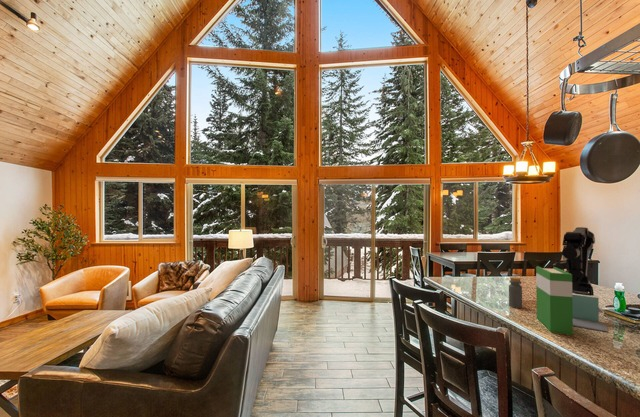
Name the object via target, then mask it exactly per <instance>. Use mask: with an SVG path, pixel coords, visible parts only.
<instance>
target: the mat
mask: <svg viewBox="0 0 640 417" xmlns="http://www.w3.org/2000/svg"><path fill="white" fill-rule="evenodd" d="M573 328H582V329H586V330H592V331H596V332H604V333H608V332H609V331H608V328H607V325H606V323H605V322H600V321H599V322H594V321H588V320H582V319H576V318H573Z"/></svg>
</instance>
